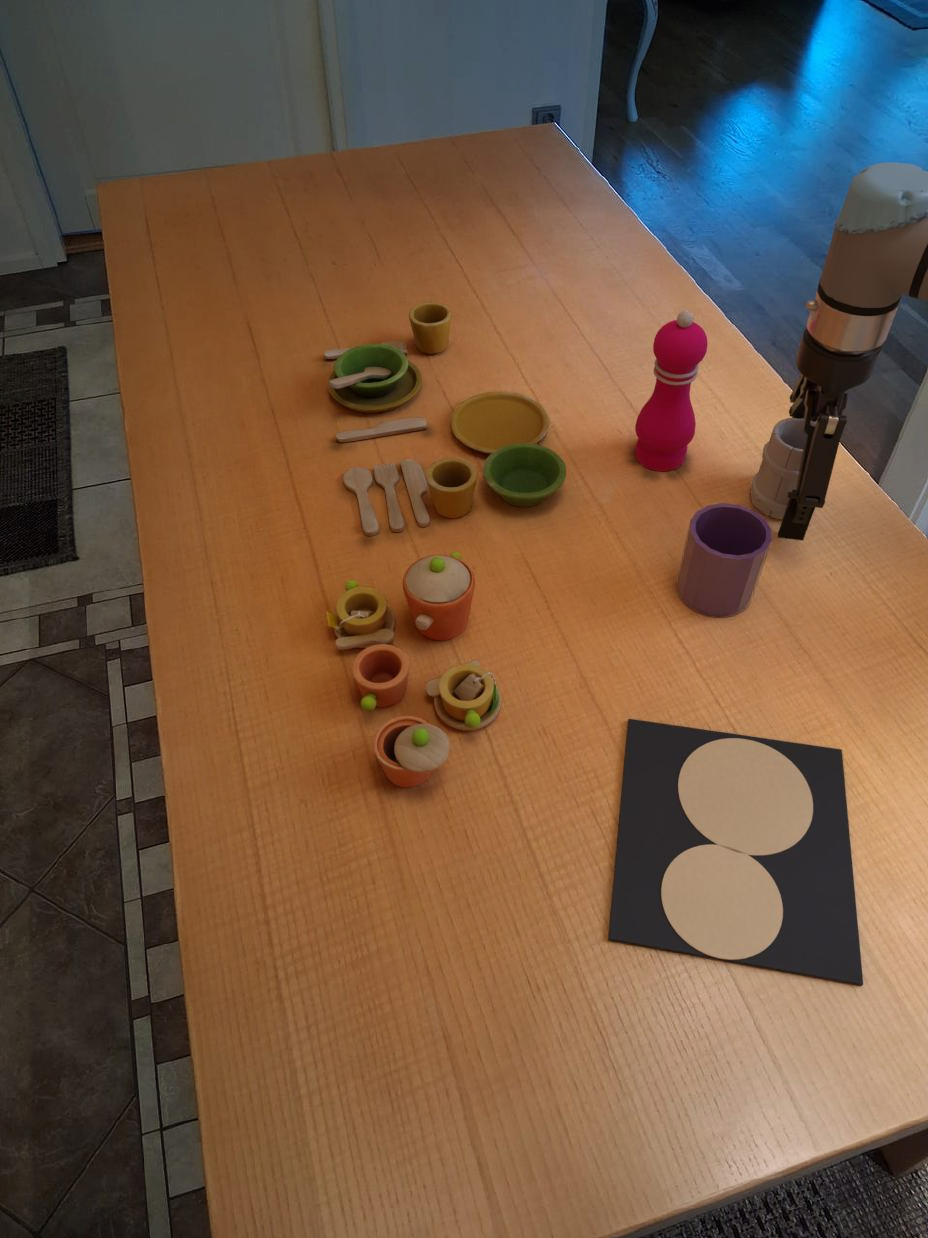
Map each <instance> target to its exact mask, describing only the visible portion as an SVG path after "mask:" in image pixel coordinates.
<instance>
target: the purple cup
mask: <svg viewBox="0 0 928 1238" xmlns="http://www.w3.org/2000/svg"><path fill="white" fill-rule="evenodd" d="M772 542H773V531H772V528H771V526H770V525H769V523H768V521H767V520H766V519H765V517H763V516H762V515H761V514H759V513H758V512H757V511H755V510H754V509H751V508H750V507H746V506H743V505H741V504H737V503H729V502H719V503H714V504H708V505H706V506H704V507H702V508H700V509H698V510H696V511H695V513H694V514H693V516H692V517H691V519H690V520H689V524H688V528H687V533H686V537H685V541H684V546H683V549H682V550H683V551H682V555H681V559H680V563H679V568H678V571H677V572H678V573H677V577H676V578H677V579H676V583H675V584H676V585H675V586H676V587H675V588H676V592H677V594H678V597H679V598H680V600H681V601H682V602H683V604H685V606H687V607H688V608H689V609H691V610H692V611H694V612H695V613H698V614H701V615H703V616H707V617H712V618H729V617H734V616H737V615H738V614H741V613H742V612H744V611H745V610H746V609H747V608H748V607H749V606H750V604H751V602H752V601H753V598H754V595H755V592H756V591H757V587H758V584H759V582H760V578H761V575H762V573H763V570H764V566H765V563H766V560H767V557H768V554H769V552H770V548H771V546H772Z"/></svg>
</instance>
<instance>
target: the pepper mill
mask: <svg viewBox="0 0 928 1238" xmlns="http://www.w3.org/2000/svg"><path fill="white" fill-rule="evenodd" d="M708 346H709V343H708V336H707V333H706V332H705V330H704V329H703V328H702V327H701V325H699V323H697V322H694V316H693V313H692V312H691V311H688V310H683V311H681V312H680V313H678V315H677V317H676V319H674V320H671V321H668V322H667V323H665V324H664V325H662V327H660V328H659V329H658V331H657V332H656V334H655V337H654V338H653V344H652V351H653V355H654V356H655V361H654V367H653V375H654V377H655V386H654V388H653V392H652V394H651V395H650V397H649V399H647V401H646V403H644V404H643V406H642V408H641V409H640V411H639V413H638V415H637V418H636V422H635V427H634V428H635V429H634V431H635V435H636V437H637V440H636V447H635V450H634V451H635V452H634V453H635V454H634V455H635V458H636V460H637V461H638V463H639V464H640V465H642V466H643V467H645V468H647V469H649V470H653V471H657V472H668V471H669V472H670V471H673V470H675V469H678V468H679V467H681V466H682V465H683V464H684V462H685V460H686V455H687V451H688V445H689V444H690V443H691V442H692V441H693V440H694V438H695V434H696V433H695V432H696V415H695V412H694V408H693V404H692V401H691V395H690V394H691V385H692V383H693V382H694V381H695V380H696V379H697V377H698V371H699V368H700V365H699V364H700V363H701V362H702V361H703V360H704V358H705V357H706V354H707V352H708Z"/></svg>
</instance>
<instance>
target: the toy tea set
mask: <svg viewBox="0 0 928 1238" xmlns="http://www.w3.org/2000/svg"><path fill="white" fill-rule="evenodd" d="M475 587H476V578H475V573H474V571H473V569H472V568H471V567H470V566H469V564H467V563H466V562H465V561H464V560H463V558H462V555H461V553H460V552H458V551H452V552H450V553H449V554H441V553H440V554H430V555H426V556H423V557H421V558H418V559H417V560H415V561H414V562H412V563H411V564H410V565H409V567H408V568H407V569H406V570H405V572H404V575H403V578H402V590H403V593H404V596H405V599H406V602H407V605H408V608H409V611H410V614H411V618H412V620H413V623H414V626H415V627H416V629H417V631H418V632H419V633H420V634H421V635H422V636H424V637H426V638H428V639H429V640H435V641H447V640H450V639H454V638H456V637H457V636H459V635H460V634H462V633H463V632H464V631H465V630H466V628H467V625H468V622H469V617H470V612H471V608H472V603H473V598H474V592H475ZM344 590H345V591H344V592H343V593H341V595H339V597H338V598H337V599H336V603H335V612H336V614H333V613H331V612H329V611H325V613H326V618H327V619H326V620H327V623H328V624H327V625H328V627H330V628H332V629H333V630H334V634H335V636H336V637H337V638H336V640H335V647H336V649H337V650H340V651H345V650H351V649H354V648H359V649H362V650H361V651H360V652H359V653H358V654H357V655H356V656H355V657H354V659H353V661H352V664H351V674H352V677H353V679H354V681H355V683H356V685H357V688H358V690H359V692H360V694H361V697H362V698H361V700H360V707H361V709H362V710H363V711H365V712H372V711H373V710H375V709H376V707H379V708H384V707H390V706H393V705H395V704H397V703H398V702H399V701H401V700H402V699H403V698H404V696H405V695H406V692H407V688H408V687H407V686H408V680H409V673H410V661H409V658H408V656H407V654H406V653H405V652H404V651H403V650H402V649H401V648H399V647H397V646H395V645H392V644H389V643H391V642H392V641H393V640H394V639H395V632H394V630H395V627H396V624H397V623H396V621H397V620H396V614H395V612H394V610H393V609H392V607H391V606H390V605H389V604H388V601H387V598H386V596H385V594H384V593H382V592H381V591H380V590H379V589H376V588H374V587H371V586H360V585H359V583H358V581H356V580H355V579H350V580H347V581H346V582H345V584H344ZM424 688H425V693H426V695H428V696H429V697H433V705H434V710H435V712H436V715H437V717H438V718H439V719H440V720H441V722H443V723H444V724H445V725H447V726H448V727H451V728H453V729H456V730H458V731H459V730H460V731H475V730H479V729H481V728H484V727H486V726H488V725H489V724H491V723H492V722H493V721H494V720H495V719H496V718H497V716H498V715H499V713H500V710H501V707H502V696H501V692H500V690H499V688H498V687H497V683H496V678H495V675H494V674H493V673H492V672H491V671H490V672H488V671H487V670H486V669H485V668H483V667H481V664H480V663H479V662H478V661H477V660H470V661H468V662H466V663H464V664H463V663H462V664H458V665H454V666H451V667H450V668H448V669H447V670H446V671H444V673H443V674H442V675H441V677H436V678H433V679H431V680H429V681H428V682H427V684H426V685H425V687H424ZM372 745H373V752H374V754H375V756H376V758H377V760H378V762H379V765H380V766H381V769H382V771H383V773H384V774H385V776H386V778H387V779H388V780H389V781H390V782H391V783H392V784H393V785H395V786H398V787H401V788H414V787H416V786H419V785H421V784H423V783H424V782H425V781H427V779H428V778H429V777H430V776H431V774H432V771H434V770H436V769H438V768H440V767H441V766H443V764H444V763H445V762H446V761H447V759H448V757H449V755H450V751H451V744H450V739H449V736H448V735H447V733H446V732H445V731H444V730H443V729H441V728H440V727H438V726H436V725H433V724H430V723H429V722H428V721H427V720H424V719H423V718H421V717H418V716H415V715H401V716H400V715H399V716H396V717H393V718H391V719H388V721H386V722H385V723H383V724H382V725H381V726H380V727H379V729H378V730H377V731H376V733H375V735H374V739H373V743H372Z"/></svg>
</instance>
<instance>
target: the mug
mask: <svg viewBox="0 0 928 1238" xmlns="http://www.w3.org/2000/svg"><path fill="white" fill-rule="evenodd" d="M803 421H804V418H802V419H797V418H792V417H789V418H788V417H787V418H783V419H781V420H779V421H777V423H775V425H774V426H773V429H772V430H771V434H770V436H769V440H768V441H767V442H766V443H765V444H764V446H763V448H762V449H763V450H762V456H761V457H762V459H761V463H760V466H759V469H758V471H757V472H756V473H755V474H754V475H753V476H752V479H751V482H750V483H751V484H750V499H751V504H752V505H753V506H754V508H756V509H757V510H758V511H760V513H762V514H763V515H765V516H767V517H769V516H770V518H772V519H777V520H781V521H782V520H783V517H784V514H785V511H786V508H787V505H788V502H789V499H790V498H788V492H792V490H796V486H797V481H798V475H799V470H800V464H801V459H802V453H803V448H804V442H805V437H806V434H805V433H804V432H803V430H802V426H803ZM810 423H811V426H815V423H816V422H813V421H811V422H810ZM816 508H817V507H815V509H814V512H813V514H814V513H815V510H816Z"/></svg>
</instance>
